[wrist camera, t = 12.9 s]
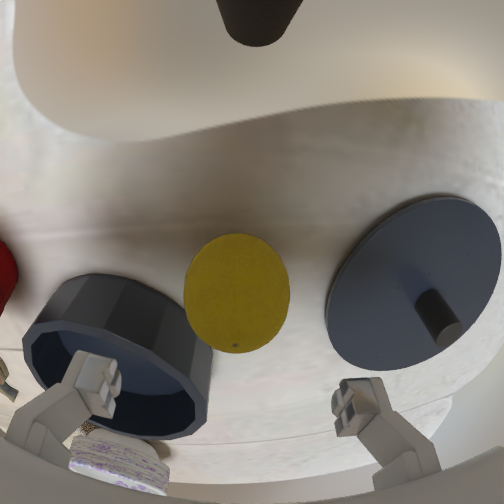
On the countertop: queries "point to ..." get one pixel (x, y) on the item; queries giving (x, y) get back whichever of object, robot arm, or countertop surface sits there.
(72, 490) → the robot arm
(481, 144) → the countertop surface
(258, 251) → the lemon
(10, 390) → the toy food set
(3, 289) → the plastic cup
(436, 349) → the lid
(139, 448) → the paper bowls
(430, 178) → the countertop surface
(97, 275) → the pot
